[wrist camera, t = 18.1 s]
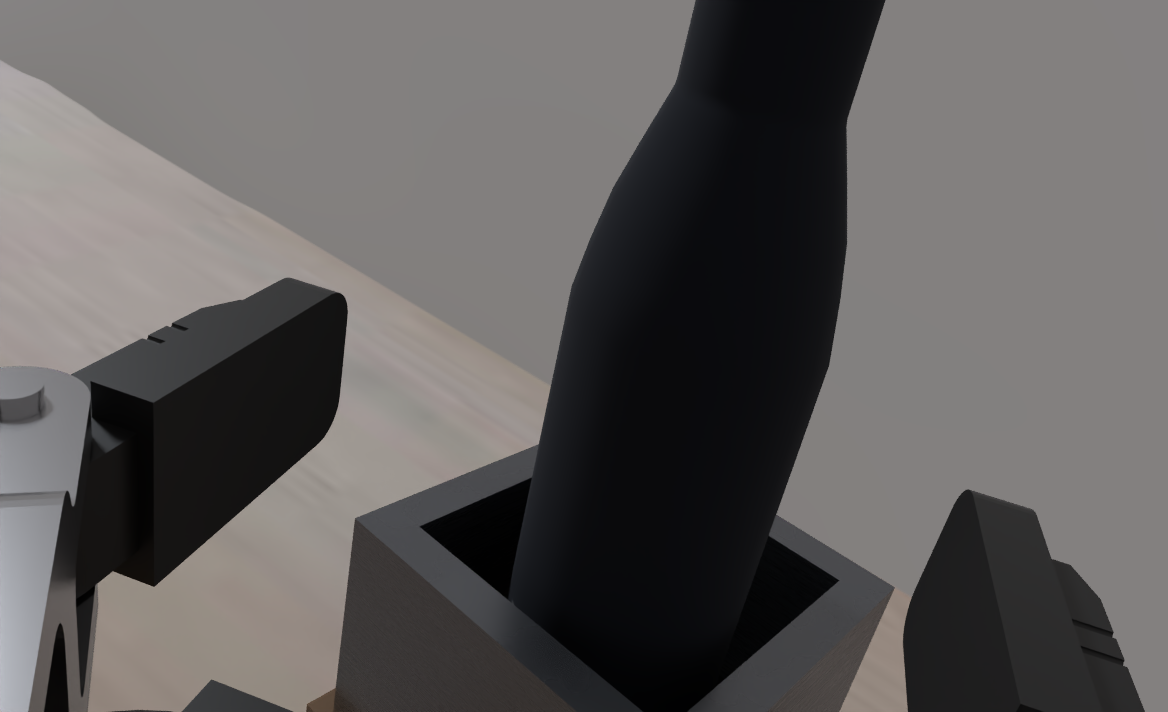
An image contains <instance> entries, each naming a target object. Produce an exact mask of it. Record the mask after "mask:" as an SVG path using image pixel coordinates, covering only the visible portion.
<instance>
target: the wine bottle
mask: <svg viewBox="0 0 1168 712" xmlns="http://www.w3.org/2000/svg"><path fill="white" fill-rule="evenodd" d="M884 3H885V0H696V2H695V6H694V10H693V14H692V18H691V23H690V27H689V31H688V35H687V39H686V44H685V48H684V52H683V57H682V61H681V65H680V69H679V73H678V77H677V80H676V83H675V85H674V87H673V89H672V90H671V92H670V94H669V95H668V97H667V98H666V100H665V102H664V104H663V105H662V107H661V108H660V110H659V112H658V114H657V115H656V117H655V118H654V120H653V122H652V123H651V125H650V127H649V128H648V130H647V131H646V133H645V135H644V136H643V138H642V140H641V141H640V143H639V145H638V146H637V148H636V150H635V152H634V153H633V155H632V157H631V158H630V160H629V162H628V164H627V165H626V167H625V169H624V170H623V172H622V174H621V175H620V177H619V179H618V181H617V182H616V184H615V186H614V187H613V189H612V192H611V194H610V196H609V198H608V200H607V203H606V205H605V207H604V209H603V212H602V214H601V216H600V218H599V220H598V223H597V225H596V227H595V229H594V232H593V234H592V236H591V238H590V241H589V243H588V246H587V249H586V251H585V254H584V256H583V259H582V261H581V264H580V266H579V269H578V272H577V274H576V277H575V280H574V282H573V284H572V288H571V292H570V297H569V302H568V307H567V312H566V316H565V322H564V326H563V331H562V336H561V341H560V345H559V351H558V355H557V360H556V365H555V370H554V374H553V379H552V384H551V389H550V393H549V398H548V403H547V408H546V413H545V417H544V422H543V427H542V432H541V437H540V441H539V446H538V451H537V456H536V461H535V466H534V470H533V475H532V480H531V485H530V490H529V494H528V499H527V504H526V509H525V514H524V518H523V523H522V528H521V533H520V538H519V542H518V547H517V552H516V557H515V562H514V567H513V571H512V576H511V581H510V586H509V591H508V595H507V600H509V601H510V602H511V603H512V604H513V605H515V606H516V607H517V608H518V609H519V610H521V611H522V612H523V613H524V614H525V615H527V616H528V617H529V618H530V619H531V620H533V621H534V622H535V623H536V624H538V625H539V626H540V627H541V628H542V629H544V630H545V631H546V632H547V633H548V634H550V635H551V636H552V637H553V638H554V639H556V640H557V641H558V642H559V643H560V644H562V645H563V646H564V647H565V648H567V649H568V650H569V651H570V652H571V653H573V654H574V655H575V656H576V657H577V658H579V659H580V660H581V661H582V662H583V663H585V664H586V665H587V666H588V667H589V668H591V669H592V670H593V671H594V672H596V673H597V674H598V675H599V676H600V677H602V678H603V679H604V680H605V681H606V682H608V683H609V684H610V685H611V686H612V687H614V688H615V689H616V690H617V691H618V692H620V693H621V694H622V695H623V696H625V697H626V698H627V699H628V700H629V701H631V702H632V703H633V704H634V705H635V706H637V707H638V708H639V709H640V710H641V711H643V712H688V711H689V710H690V709H691V708H692V707H693V706H695V705H696V704H697V703H698V702H699V701H700V700H701V699H703V698H704V697H705V696H706V695H707V694H708V693H710V692H711V691H712V690H713V689H714V688H715V685H716V683H717V680H718V677H719V674H720V671H721V669H722V666H723V663H724V660H725V657H726V654H727V652H728V649H729V646H730V643H731V640H732V638H733V635H734V632H735V629H736V626H737V623H738V621H739V618H740V615H741V612H742V609H743V607H744V604H745V601H746V598H747V595H748V592H749V590H750V587H751V584H752V581H753V578H754V576H755V573H756V570H757V567H758V564H759V561H760V559H761V556H762V553H763V550H764V547H765V544H766V542H767V539H768V536H769V533H770V530H771V528H772V525H773V522H774V519H775V516H776V513H777V510H778V508H779V505H780V502H781V499H782V496H783V494H784V491H785V488H786V485H787V482H788V479H789V477H790V474H791V471H792V468H793V466H794V463H795V460H796V457H797V454H798V451H799V449H800V446H801V443H802V440H803V437H804V434H805V432H806V429H807V426H808V423H809V420H810V418H811V415H812V412H813V409H814V406H815V403H816V401H817V397H818V395H819V392H820V389H821V387H822V384H823V381H824V378H825V375H826V372H827V370H828V367H829V362H830V357H831V351H832V345H833V339H834V333H835V327H836V321H837V316H838V310H839V304H840V298H841V289H842V280H843V273H844V264H845V255H846V247H847V141H846V140H847V139H846V125H847V118H848V115H849V111H850V109H851V105H852V102H853V99H854V96H855V93H856V90H857V87H858V84H859V80H860V77H861V74H862V71H863V68H864V65H865V62H866V59H867V56H868V53H869V50H870V46H871V43H872V40H873V37H874V34H875V31H876V27H877V25H878V21H879V18H880V15H881V12H882V9H883V6H884Z"/></svg>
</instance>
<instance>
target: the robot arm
mask: <svg viewBox="0 0 1168 712" xmlns="http://www.w3.org/2000/svg"><path fill="white" fill-rule="evenodd" d="M347 314H348V310H347V302H346V299H345V297H344V296H343V295H342V294H341V293H338V292H334V291H331V290H328V289H325V288H322V287H318V286H315V285H312V284H309V283H305V282H302V281H299V280H296V279H293V278H284V279H282V280H280V281H278V282H276V283H274V284H272V285H271V286H269V287H267V288H265V289H263V290H261V291H259V292H257V293H255V294H254V295H252V296H250V297H248V298H246V299H244V300H238V301H233V302H228V303H224V304H219V305H214V306H210V307H205V308H201V309H199V310H197V311H195V312H193V313H191V314H189V315H187V316H185V317H183V318H181V319H179V320H177V321H175V322H173V323H172V326H171V327H168V326H166V327H164V328H162V329H160V330H158V331H156V332H154V333H152V334H150V335H148V338H147V340H145V339H140V340H138V341H136V342H134V343H132V344H130V345H128V346H126V347H124V348H122V349H120V350H118V351H116V352H115V353H113V354H111V355H109V356H107V357H105V358H103V359H101V360H99V361H97V362H95V363H93V364H91V365H89V366H87V367H85V368H83V369H81V370H79V371H77V372H75V373H73V374H71V375H70V374H68V373H64V372H61V371H58V370H53V369H48V368H41V367H29V366H13V367H0V712H88V703H89V693H90V683H91V673H92V663H93V653H94V643H95V633H96V623H97V613H98V584H97V583H99V582H100V581H101V580H102V579H104V578H105V577H106V576H107V575H108V574H110V573H111V572H112V571H114V572H116V573H119V574H122V575H124V576H127V577H130V578H132V579H135V580H137V581H140V582H143V583H145V584H148V585H151V586H153V587H155V586H156V585H157V584H158V583H159V582H160V581H161V580H163V579H164V578H165V577H166V576H167V575H168V574H169V573H171V572H172V571H173V570H174V569H175V568H176V567H177V566H179V565H180V564H181V563H182V562H183V561H184V560H185V559H187V558H188V557H189V556H190V555H191V554H192V553H194V552H195V551H196V550H197V549H198V548H199V547H200V546H202V545H203V544H204V543H205V542H206V541H207V540H208V539H210V538H211V537H212V536H213V535H214V534H215V533H216V532H218V531H219V530H220V529H221V528H222V527H223V526H224V525H226V524H227V523H228V522H229V521H230V520H231V519H232V518H234V517H235V516H236V515H237V514H238V513H239V512H241V511H242V510H243V509H244V508H245V507H246V506H247V505H249V504H250V503H251V502H252V501H253V500H254V499H255V498H257V497H258V496H259V495H260V494H261V493H262V492H263V491H265V490H266V489H267V488H268V487H269V486H270V485H271V484H273V483H274V482H275V481H276V480H277V479H278V478H280V477H281V476H282V475H283V474H284V473H285V472H286V471H288V470H289V469H290V468H291V467H292V466H293V465H294V464H296V463H297V462H298V461H299V460H300V459H301V458H302V457H304V456H305V455H306V454H307V453H308V452H309V451H310V450H312V449H313V448H314V447H315V446H316V445H317V444H318V443H319V442H320V441H321V440H322V439H323V438H324V437H325V435H326V433H327V432H328V430H329V428H330V427H331V424H332V422H333V420H334V417H335V415H336V411H337V408H338V404H339V397H340V387H341V377H342V367H343V357H344V346H345V336H346V326H347ZM1112 635H1113V630H1112V627H1111V625H1110V622H1109V620H1108V617H1107V615H1106V612H1105V609H1104V607H1103V604H1102V602H1101V599H1100V598H1099V597H1098V596H1097V595H1096V594H1095V593H1094V591H1093V590H1092V589H1091V588H1090V587H1089V586H1088V585H1087V584H1086V582H1085V581H1084V580H1083V579H1082V578H1081V577H1080V575H1078V573H1077V572H1076V571H1075V570H1074V569H1073V568H1072V566H1071V565H1069V564H1065V563H1062V562H1059V561H1056V560H1052V559H1051V557H1050V554H1049V551H1048V548H1047V545H1046V542H1045V539H1044V536H1043V533H1042V530H1041V527H1040V524H1039V521H1038V518H1037V515H1036V513H1035V512H1034V511H1033V510H1032V509H1029V508H1026V507H1023V506H1020V505H1017V504H1013V503H1010V502H1007V501H1004V500H1000V499H997V498H994V497H991V496H987V495H984V494H981V493H978V492H975V491H971V490H965V491H964V492H963V493H962V494H961V495H960V496H959V498H958V499H957V501H956V502H955V504H954V506H953V508H952V510H951V513H950V515H949V517H948V519H947V521H946V523H945V526H944V528H943V530H942V532H941V534H940V537H939V539H938V541H937V543H936V545H935V547H934V549H933V552H932V554H931V556H930V558H929V560H928V563H927V565H926V567H925V569H924V572H923V573H922V576H921V578H920V580H919V582H918V584H917V587H916V589H915V591H914V593H913V596H912V599H911V602H910V605H909V608H908V612H907V616H906V621H905V626H904V634H903V649H904V663H905V677H906V691H907V705H908V712H1145V711H1144V708H1143V706H1142V703H1141V701H1140V698H1139V696H1138V693H1137V691H1136V688H1135V686H1134V683H1133V681H1132V678H1131V675H1130V673H1129V670H1128V668H1127V667H1125V666H1123V662H1124V658H1123V655H1122V653H1121V650H1120V647H1119V645H1118V642H1117V640H1116V639H1114V638H1112ZM114 712H171V711H151V710H131V711H114ZM182 712H293V711H290V710H287V709H285V708H282V707H280V706H277V705H275V704H272V703H270V702H267V701H265V700H262V699H260V698H257V697H255V696H252V695H249V694H247V693H244V692H242V691H239V690H237V689H234V688H232V687H229V686H227V685H224V684H222V683H219V682H217V681H214V680H212V679H211V681H210V682H209V683H208V684H207V685H206V686H205V687H204V688H203V689H202V690H201V692H200V693H199V694H198V695H197V696H196V697H195V698H194V699H193V700H192V701H191V702H190V704H189V705H188V706H187V707H186V708H185V709H184V710H183V711H182Z"/></svg>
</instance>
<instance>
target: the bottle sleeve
mask: <svg viewBox="0 0 1168 712" xmlns="http://www.w3.org/2000/svg"><path fill="white" fill-rule="evenodd" d="M538 446H539V445H536V446H534V447H531V448H529V449H526V450H524V451H521V452H519V453H516V454H514V455H511V456H509V457H506V458H504V459H501V460H499V461H496V462H494V463H491V464H489V465H486V466H484V467H481V468H479V469H476V470H474V471H471V472H469V473H466V474H464V475H461V476H459V477H457V478H454V479H452V480H449V481H447V482H444V483H442V484H439V485H437V486H434V487H432V488H429V489H427V490H424V491H422V492H419V493H417V494H414V495H412V496H409V497H407V498H404V499H402V500H399V501H397V502H394V503H392V504H389V505H387V506H384V507H382V508H379V509H377V510H375V511H372V512H370V513H367V514H365V515H362V516H360V517H357V518H355V524H354V533H353V541H352V550H351V559H350V568H349V577H348V585H347V594H346V603H345V612H344V620H343V629H342V638H341V647H340V655H339V664H338V673H337V682H336V688H335V689H333V690H332V691H330V692H328V693H326V694H324V695H323V696H321V697H319V698H317V699H315V700H314V701H312V702H310V703H308V704H307V710H306V712H643V711H641V710H640V709H639V708H638V707H637V706H635V705H634V704H633V703H632V702H631V701H629V700H628V699H627V698H626V697H625V696H623V695H622V694H621V693H620V692H618V691H617V690H616V689H615V688H614V687H612V686H611V685H610V684H609V683H608V682H606V681H605V680H604V679H603V678H602V677H600V676H599V675H598V674H597V673H596V672H594V671H593V670H592V669H591V668H589V667H588V666H587V665H586V664H585V663H583V662H582V661H581V660H580V659H579V658H577V657H576V656H575V655H574V654H573V653H571V652H570V651H569V650H568V649H567V648H565V647H564V646H563V645H562V644H560V643H559V642H558V641H557V640H556V639H554V638H553V637H552V636H551V635H550V634H548V633H547V632H546V631H545V630H544V629H542V628H541V627H540V626H539V625H538V624H536V623H535V622H534V621H533V620H531V619H530V618H529V617H528V616H527V615H525V614H524V613H523V612H522V611H521V610H519V609H518V608H517V607H516V606H515V605H513V604H512V603H511V602H510V601H509V600H507V595H508V591H509V586H510V581H511V576H512V571H513V567H514V562H515V557H516V552H517V547H518V542H519V538H520V533H521V528H522V523H523V518H524V514H525V509H526V504H527V499H528V494H529V490H530V485H531V480H532V475H533V470H534V466H535V461H536V456H537V451H538ZM894 588H895V587H893V586H892V585H890V584H888V583H887V582H885V581H883V580H882V579H880V578H878V577H877V576H875V575H874V574H872V573H870V572H869V571H867V570H865V569H864V568H862V567H861V566H859V565H857V564H856V563H854V562H852V561H851V560H849V559H848V558H846V557H844V556H843V555H841V554H839V553H838V552H836V551H835V550H833V549H831V548H830V547H828V546H826V545H825V544H823V543H821V542H820V541H818V540H817V539H815V538H813V537H812V536H810V535H808V534H807V533H805V532H804V531H802V530H800V529H799V528H797V527H795V526H794V525H792V524H791V523H789V522H787V521H786V520H784V519H782V518H781V517H779V516H777V515H776V516H775V519H774V522H773V525H772V528H771V530H770V533H769V536H768V539H767V542H766V544H765V547H764V550H763V553H762V556H761V559H760V561H759V564H758V567H757V570H756V573H755V576H754V578H753V581H752V584H751V587H750V590H749V592H748V595H747V598H746V601H745V604H744V607H743V609H742V612H741V615H740V618H739V621H738V623H737V626H736V629H735V632H734V635H733V638H732V640H731V643H730V646H729V649H728V652H727V654H726V657H725V660H724V663H723V666H722V669H721V671H720V674H719V677H718V680H717V683H716V685H715V688H714V689H713V690H712V691H711V692H710V693H708V694H707V695H706V696H705V697H704V698H703V699H701V700H700V701H699V702H698V703H697V704H696V705H695V706H693V707H692V708H691V709H690V710H689V711H688V712H839V711H840V709H841V707H842V704H843V702H844V700H845V698H846V695H847V693H848V691H849V689H850V687H851V684H852V682H853V680H854V678H855V675H856V673H857V671H858V669H859V666H860V664H861V662H862V660H863V657H864V655H865V653H866V651H867V649H868V646H869V644H870V642H871V640H872V637H873V635H874V633H875V631H876V628H877V626H878V624H879V622H880V619H881V617H882V615H883V613H884V611H885V608H886V606H887V604H888V602H889V599H890V597H891V595H892V593H893V590H894Z"/></svg>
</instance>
